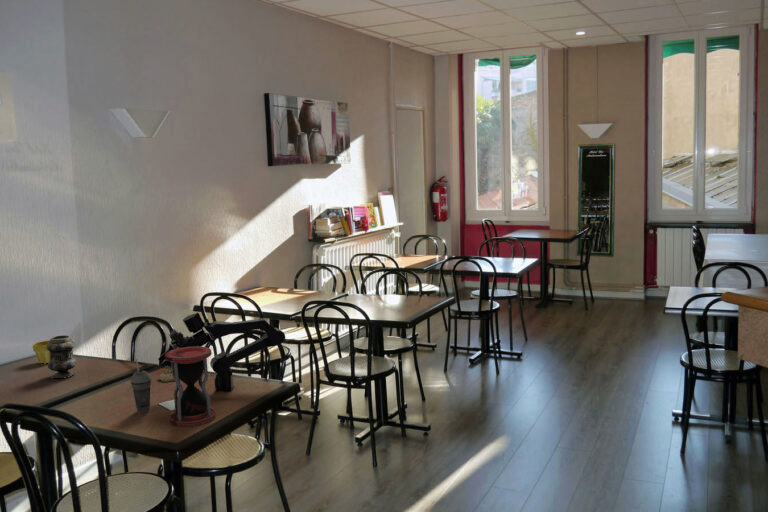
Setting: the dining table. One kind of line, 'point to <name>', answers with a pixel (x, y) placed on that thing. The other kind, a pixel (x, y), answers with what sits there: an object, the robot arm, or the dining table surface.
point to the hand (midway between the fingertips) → (159, 362)
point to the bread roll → (166, 376)
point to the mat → (168, 405)
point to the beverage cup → (141, 390)
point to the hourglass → (190, 386)
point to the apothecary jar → (61, 355)
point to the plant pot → (42, 351)
